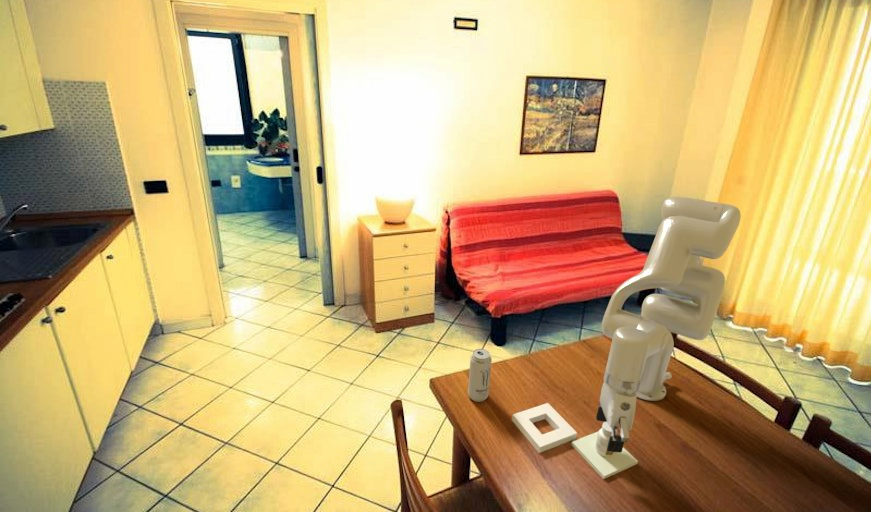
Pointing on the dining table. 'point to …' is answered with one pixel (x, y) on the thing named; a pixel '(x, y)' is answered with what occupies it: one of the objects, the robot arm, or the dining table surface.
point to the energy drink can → (479, 375)
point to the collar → (547, 440)
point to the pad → (603, 457)
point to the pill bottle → (604, 440)
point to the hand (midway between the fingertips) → (608, 435)
